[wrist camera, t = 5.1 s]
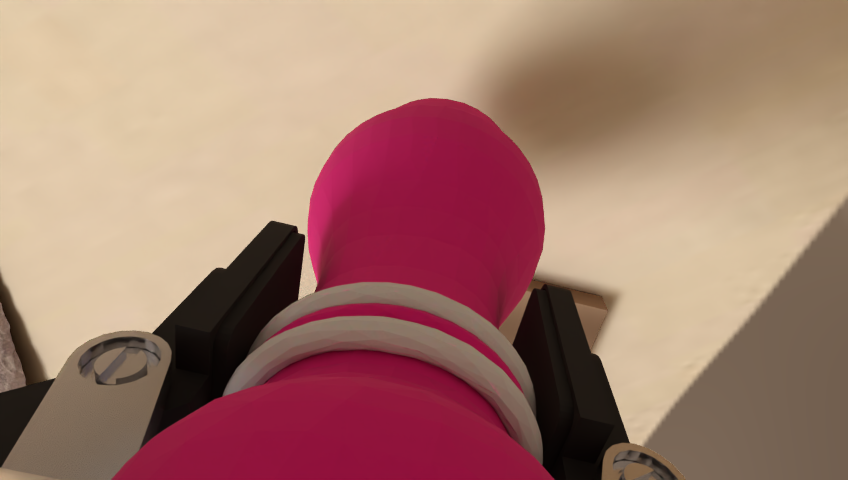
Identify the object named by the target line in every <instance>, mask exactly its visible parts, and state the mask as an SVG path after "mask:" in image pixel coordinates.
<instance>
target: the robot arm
mask: <svg viewBox="0 0 848 480" xmlns="http://www.w3.org/2000/svg"><path fill="white" fill-rule="evenodd" d="M304 244H305V235H304V234H299V233H298V228H297V226H293V225H289V224H284V223H280V222H276V221H270V222H269V223H268V224H267V225H266V226H265V227H264V228H263V230H262V231H261V232H260V233H259V234H258V235H257V236H256V237H255V238H254V239H253V240H252V241H251V243H250V244H249V245H248V246H247V247H246V248H245V249H244V250H243V251H242V252H241V253H240V254H239V256H238V257H237V258H236V259H235V260H234V261H233V262H232V263H231V264H230V265H229V266H228V267H227V269H224V268H216V269H214V270H213V271H212V272H211V273H210V274H209V275H208V276H207V277H206V278H205V279H204V280H203V281H202V282H201V283H200V284H199V285H198V286H197V287H196V288H195V289H194V290H193V291H192V293H191V294H190V295H189V296H188V297H187V298H186V299H185V300H184V301H183V302H182V303H181V304H180V305H179V306H178V307H177V308H176V309H175V310H174V311H173V312H172V313H171V314H170V315H169V316H168V317H167V318H166V319H165V320H164V321H163V323H162V324H161V325H160V326H159V327H158V328H157V329H156V330H155V331H154V332H153V333H152V334H151V333H149V332H141V331H118V332H114V333H109V334H104V335H101V336H99V337H96V338H94V339H91V340H89V341H87V342H86V343H84V344H83V345H81V346H80V347H78V348H77V349H76V350H75V351H74V352H73V353H72V354H71V356H70V357H69V358H68V359H67V361H66V363H65V364H64V366H63V367H62V369H61V371H60V372H59V374H58V376H57V377H56V378H55V379H51V380H47V381H43V382H39V383H36V384H32V385H28V386H24V387H20V388H16V389H13V390H9V391H5V392H1V393H0V480H111V479H112V478H113V477H114V476H115V475H116V473H117V472H118V471H119V470H120V469H121V468H122V467H123V465H124V464H125V463H126V462H127V461H128V460H129V459H131V458H132V457H133V456H134V455H135V454H136V453H137V452H138V451H139V450H140V449H141V448H142V447H143V446H144V445H145V444H146V443H148V442H149V441H150V440H151V439H152V438H153V437H155V436H156V435H157V434H159V433H160V432H162V431H163V430H165V429H166V428H168V427H169V426H171V425H173V424H174V423H176V422H178V421H179V420H181V419H183V418H184V417H186V416H188V415H189V414H191V413H193V412H194V411H196V410H198V409H199V408H201V407H203V406H204V405H206V404H208V403H209V402H211V401H213V400H214V399H217V398H220V397H222V396H223V393H224V390H225V388H226V385H227V383H228V382H229V380H230V378H231V377H232V375H233V373H234V372H235V370H236V368H237V367H238V366H239V365H240V364H241V363H242V362H243V361H244V360H245V359H246V357H247V355H248V352H249V350H250V348H251V346H252V344H253V343H254V341H255V340H256V338H257V336H258V335H259V333H260V332H261V330H262V329H263V328H264V327H265V326H266V325H267V324H268V323H269V322H270V321H271V320H272V318H273V317H274V316H276V315H277V314H278V313H280V312H281V311H282V310H284V309H285V308H287V307H288V306H289V305H291V304H292V303H294V302H296V301H298V295H299V287H300V278H301V270H302V261H303V253H304ZM512 346H513V347H514V349H515V350H516V351H517V353H518V355H519V356H520V358H521V359H522V361H523V362H524V364H525V366H526V368H527V371H528V373H529V376H530V379H531V381H532V384H533V389H534V393H535V398H536V421H537V424H538V427H539V430H540V433H541V438H542V445H543V464H542V466H543V467H544V468H545V469H546V470H547V472H548V473H549V474H550V475H551V476H552V477H553V478H554V479H555V480H686V479H685V477H684V476H683V475H682V474H681V473H680V472H679V471H678V470H677V468H676V467H675V466H674V465H673V464H671V463H670V462H669V461H668V460H666V459H665V458H664V457H662V456H661V455H659V454H658V453H656V452H654V451H652V450H650V449H648V448H646V447H643V446H640V445H637V444H632V443H630V442H629V439H628V436H627V434H626V431H625V428H624V425H623V422H622V419H621V416H620V414H619V411H618V408H617V405H616V402H615V399H614V396H613V393H612V391H611V388H610V385H609V382H608V379H607V376H606V373H605V371H604V368H603V365H602V362H601V360H600V358H599V356H597V355H596V354H592V353H591V351H590V348H589V345H588V342H587V338H586V335H585V332H584V329H583V326H582V323H581V320H580V317H579V314H578V311H577V308H576V305H575V302H574V299H573V296H572V293H571V291H570V290H569V289H565V288H560V287H556V286H552V285H548V284H544V285H543V286H542V288H541V289H537V288H534V289H533V290H532V292H531V295H530V298H529V300H528V303H527V306H526V309H525V311H524V314H523V317H522V320H521V322H520V325H519V328H518V331H517V333H516V336H515V339H514V342H513V344H512Z"/></svg>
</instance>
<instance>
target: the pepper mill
mask: <svg viewBox="0 0 848 480" xmlns="http://www.w3.org/2000/svg"><path fill="white" fill-rule="evenodd" d="M544 233H545V223H544V210H543V201H542V195H541V191H540V188H539V184H538V180H537V178H536V176H535V174H534V171H533V169H532V167H531V165H530V163H529V162H528V160H527V159H526V157H525V156H524V155H523V153H522V152H521V150H520V149H519V148H518V146H517V145H516V144H515V143H514V142H513V141H512V140H511V139H510V138H509V137H508V136H507V135H506V134H504V133H503V132H502V131H501V129H500V128H499V127H498V126H497V125H496V124H495V123H494V122H493V121H492V120H491V119H490V118H489V117H488V116H487V115H485V114H484V113H482V112H481V111H479V110H478V109H476V108H473V107H471V106H469V105H467V104H465V103H462V102H457V101H453V100H449V99H437V98H428V99H421V100H416V101H412V102H409V103H407V104H404V105H402V106H400V107H398V108H396V109H393V110H389V111H386V112H384V113H381V114H379V115H376V116H375V117H373V118H371V119H369V120H367V121H365V122H363V123H362V124H360V125H359V126H358V127H356V128H355V129H354V130H353V131H351V132H350V133H349V134H347V136H346V137H345V138H344V139H343V140H342V141H341V142H340V143H339V144H338V145H337V146H336V148H335V149H334V151H333V152H332V154H331V155H330V157H329V159H328V160H327V162H326V163H325V165H324V167H323V168H322V170H321V172H320V174H319V176H318V178H317V180H316V182H315V185H314V189H313V192H312V195H311V199H310V207H309V216H308V246H309V253H310V257H311V261H312V265H313V269H314V273H315V276H316V280H317V283H318V285H317V287H316V290H315V292H314V293H312V294H309V295H307V296H305V297H303V298H301V299H300V300H298V301H296V302H294V303H292V304H291V305H289V306H288V307H287V308H285V309H284V310H282V311H281V312H280V313H278V314H277V315H276V316H274V317H273V318H272V320H271V321H270V322H269V323H268V324H267V325H266V326H265V327H264V328H263V329H262V330H261V332H260V333H259V335H258V336H257V338H256V340H255V341H254V343H253V344H252V346H251V348H250V350H249V352H248V355H247V357H246V359H245V360H244V361H243V362H242V363H241V364H240V365H239V366H238V367H237V368H236V370H235V372H234V373H233V375H232V377H231V378H230V380H229V382H228V383H227V385H226V388H225V390H224V393H223V396H222V397H220V398H217V399H214V400H213V401H211V402H209V403H208V404H206V405H204V406H203V407H201V408H199V409H198V410H196V411H194V412H193V413H191V414H189V415H188V416H186V417H184V418H183V419H181V420H179V421H178V422H176V423H174V424H173V425H171V426H169V427H168V428H166V429H165V430H163V431H162V432H160V433H159V434H157V435H156V436H155V437H153V438H152V439H151V440H150V441H149V442H148V443H146V444H145V445H144V446H143V447H142V448H141V449H140V450H139V451H138V452H137V453H136V454H135V455H134V456H133V457H132V458H131V459H129V460H128V461H127V462H126V463H125V464H124V465H123V467H122V468H121V469H120V470H119V471H118V472H117V473H116V475H115V476H114V477H113V478H112V479H111V480H555V479H554V478H553V477H552V476H551V475H550V474H549V473H548V472H547V470H546V469H545V468H544V467H543V466H542V464H543V445H542V438H541V433H540V430H539V427H538V424H537V421H536V398H535V393H534V389H533V384H532V381H531V379H530V376H529V373H528V371H527V368H526V366H525V364H524V362H523V361H522V359H521V358H520V356H519V355H518V353H517V351H516V350H515V349H514V347H513V346H512V345H511V343H510V342H509V341H508V340H507V338H506V337H505V336H504V335H503V334H502V333H501V332H500V331H499V327H500V326H501V325H502V323H503V322H504V321H505V320H506V318H507V317H508V316H509V315H510V313H511V312H512V311H513V310H514V308H515V307H516V306H517V304H518V303H519V302H520V301H521V299H522V298H523V296H524V294H525V292H526V290H527V288H528V286H529V284H530V283H531V281H532V279H533V276H534V273H535V270H536V267H537V264H538V261H539V259H540V256H541V253H542V250H543V242H544Z"/></svg>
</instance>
